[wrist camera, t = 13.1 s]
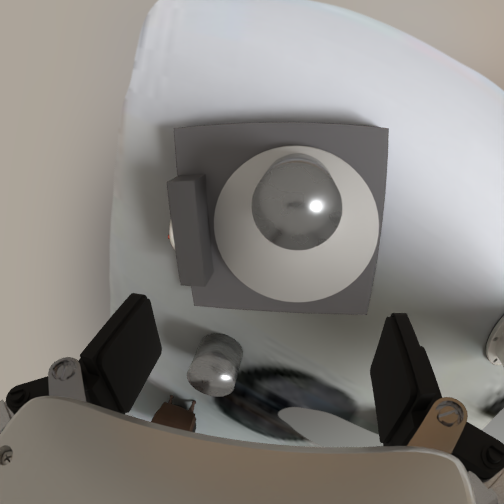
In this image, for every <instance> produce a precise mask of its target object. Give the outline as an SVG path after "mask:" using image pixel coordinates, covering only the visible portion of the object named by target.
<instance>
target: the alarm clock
mask: <svg viewBox="0 0 504 504" xmlns="http://www.w3.org/2000/svg"><path fill="white" fill-rule="evenodd" d="M172 399H173V395H171V396H170V400H169V402H168V403H167V402H164V403H163V404H162V406H161V408H160V409H159V410H158V411H157V412H156V414H155V415H154V417H153V419H152V421H151V422H152V423H156V424H160V425H164V426H168V427H172V428H176V429H181V430H185V431H190V432H194V433H195V429H196V422H195V421H196V418H195V414H194V413H193V410H194V405H195V404H196V401H192V405H191V407H190V408H189V410H186V409H184V408H182V407H179V406H177V405H173V404H172Z"/></svg>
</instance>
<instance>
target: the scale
mask: <svg viewBox="0 0 504 504" xmlns="http://www.w3.org/2000/svg"><path fill="white" fill-rule="evenodd" d="M388 133H389V128H381V127H371V126H360V125H346V124H329V123H300V122H265V123H235V124H218V125H204V126H193V127H183V128H174V137H175V150H176V163H177V174H178V177H176V178H174V179H172V180H170V181H168V182H167V188H168V197H169V206H170V214H171V220H170V226H169V235H168V239H170V242H171V245H172V247H173V248H174V249H175V251H176V257H177V264H178V270H179V276H180V282H181V285H186V286H191V288H192V295H193V301H194V306H205V307H216V308H229V309H242V310H257V311H274V312H294V313H319V314H365V315H367V311H368V306H369V301H370V296H371V291H372V286H373V280H374V275H375V269H376V263H377V256H378V250H379V243H380V235H381V227H382V219H383V210H384V200H385V189H386V176H387V159H388ZM293 153H301V154H307V155H310V156H312V157H314V158H316V159H318V160H319V161H320V162H322V163H323V164H324V165H325V167H326V168H327V169H328V171H329V172H330V174H331V176H332V178H333V180H334V182H335V184H336V186H337V188H338V190H339V192H340V195H341V199H342V216H341V220H340V223H339V225H338V227H337V229H336V231H335V232H334V233H333V235H332V236H331V237H330V238H329V239H328V240H326V241H325V242H324V243H322V244H320V245H319V246H316V247H314V248H311V249H307V250H289V249H284V248H281V247H279V246H277V245H275V244H273V243H272V242H270V241H269V240H268V239H266V238H265V237H264V236H263V235H262V234H261V232H260V231H259V229H258V228H257V226H256V224H255V222H254V219H253V215H252V197H253V194H254V191H255V188H256V186H257V185H258V183H259V182H260V180H261V179H262V177H263V176H264V174H265V173H266V171H267V170H268V168H269V167H270V166H271V165H272V163H274V162H275V161H276V160H277V159H279V158H281V157H283V156H285V155H288V154H293Z"/></svg>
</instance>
